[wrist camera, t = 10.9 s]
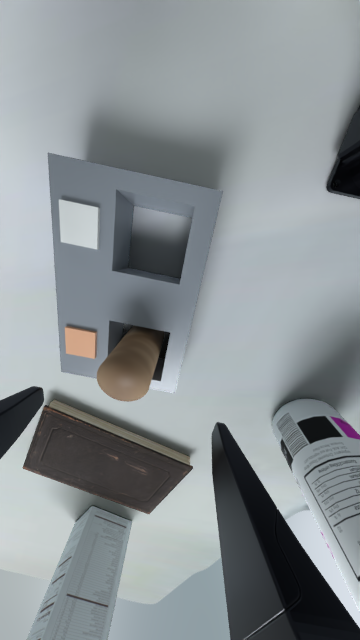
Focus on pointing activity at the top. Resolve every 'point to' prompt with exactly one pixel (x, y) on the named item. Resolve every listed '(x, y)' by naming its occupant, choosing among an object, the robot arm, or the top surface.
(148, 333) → the walnut peg
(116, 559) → the supplement box
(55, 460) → the hardcover book
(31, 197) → the top surface
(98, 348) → the socket block
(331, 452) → the supplement can
